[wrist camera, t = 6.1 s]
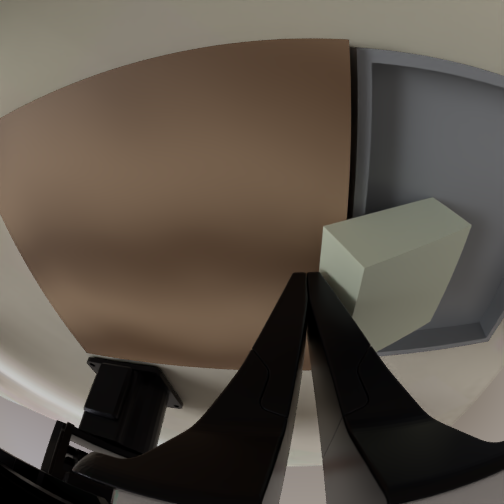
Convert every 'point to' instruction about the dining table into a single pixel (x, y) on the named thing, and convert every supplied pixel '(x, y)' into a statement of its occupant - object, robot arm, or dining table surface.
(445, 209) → the tile
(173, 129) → the walnut board
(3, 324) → the dining table surface
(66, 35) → the dining table surface
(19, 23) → the dining table surface
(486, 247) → the tray
